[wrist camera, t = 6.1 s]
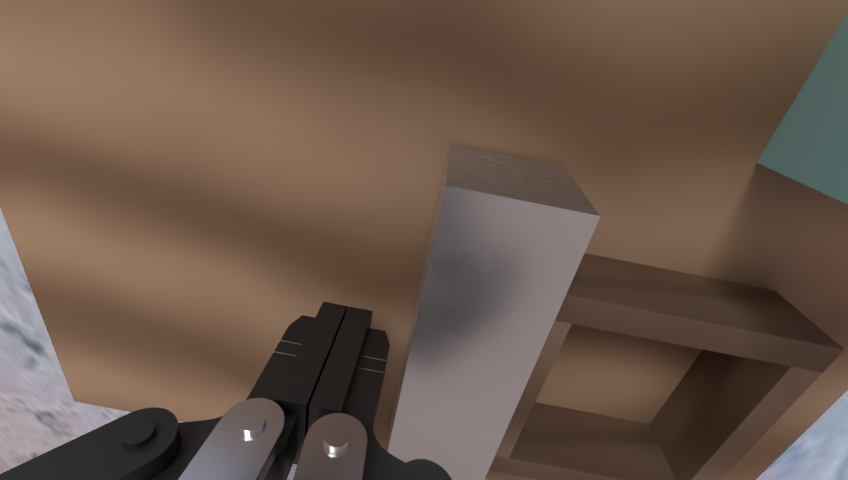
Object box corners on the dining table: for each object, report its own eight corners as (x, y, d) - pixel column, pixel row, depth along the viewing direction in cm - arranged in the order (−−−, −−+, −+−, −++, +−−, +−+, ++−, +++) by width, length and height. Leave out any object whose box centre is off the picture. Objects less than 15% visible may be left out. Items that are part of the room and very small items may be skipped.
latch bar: (449, 143, 10) (446, 185, 7) (564, 166, 10) (600, 215, 8) (387, 434, 16) (373, 516, 13) (460, 448, 16) (460, 532, 13)
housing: (-73, -257, 9) (-476, -470, 5) (1111, -8, 9) (1572, -31, 5) (110, 365, 19) (18, 454, 15) (688, 476, 19) (746, 590, 15)
